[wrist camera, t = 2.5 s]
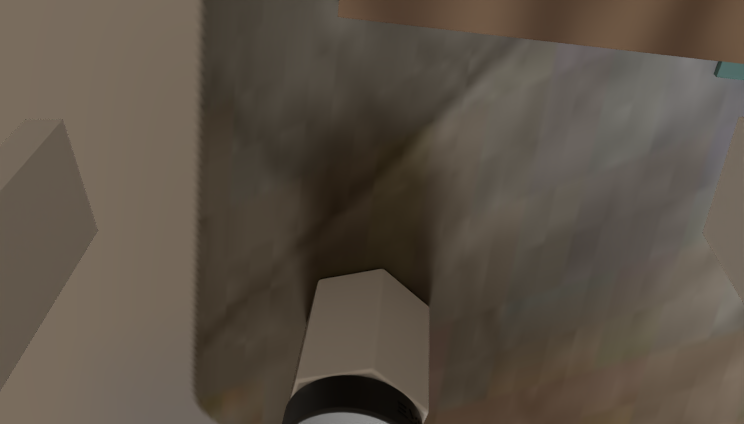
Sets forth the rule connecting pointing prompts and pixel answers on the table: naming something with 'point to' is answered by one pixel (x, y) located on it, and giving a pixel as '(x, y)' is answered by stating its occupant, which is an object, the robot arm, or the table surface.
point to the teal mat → (730, 70)
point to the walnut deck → (580, 22)
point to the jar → (362, 354)
